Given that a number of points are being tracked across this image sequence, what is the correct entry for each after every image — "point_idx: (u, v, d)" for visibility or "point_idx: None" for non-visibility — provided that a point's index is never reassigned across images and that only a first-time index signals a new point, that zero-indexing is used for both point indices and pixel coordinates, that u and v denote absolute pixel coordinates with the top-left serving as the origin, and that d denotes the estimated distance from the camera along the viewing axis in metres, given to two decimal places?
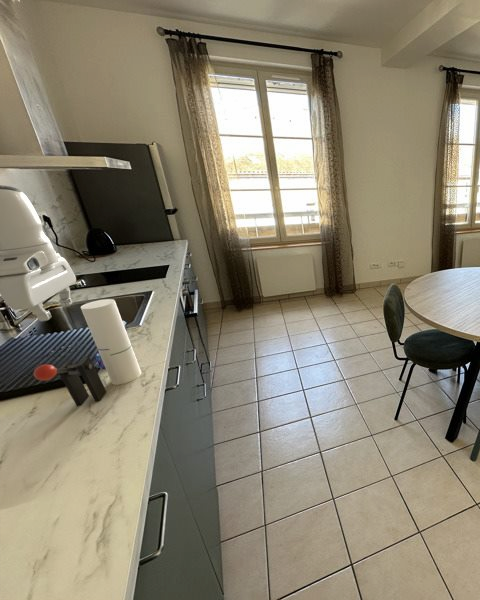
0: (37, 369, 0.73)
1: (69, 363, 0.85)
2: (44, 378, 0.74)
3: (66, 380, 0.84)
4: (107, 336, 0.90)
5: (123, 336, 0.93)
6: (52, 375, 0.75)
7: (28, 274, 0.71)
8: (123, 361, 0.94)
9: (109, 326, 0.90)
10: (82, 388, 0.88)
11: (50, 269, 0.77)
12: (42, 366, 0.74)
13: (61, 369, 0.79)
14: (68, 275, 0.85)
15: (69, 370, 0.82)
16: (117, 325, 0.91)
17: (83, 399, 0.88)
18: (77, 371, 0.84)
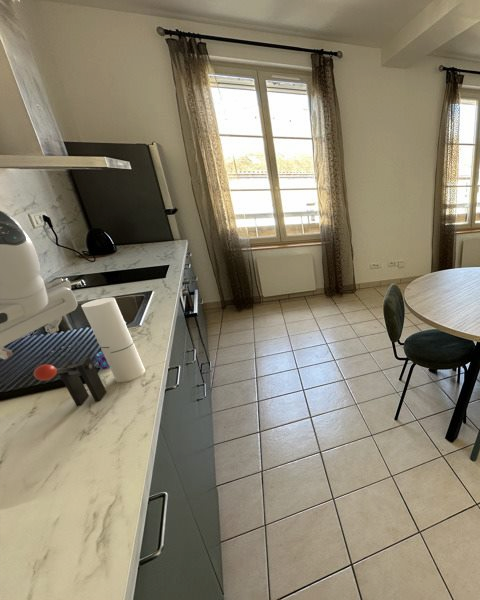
0: (37, 369, 0.73)
1: (69, 363, 0.85)
2: (44, 378, 0.74)
3: (66, 380, 0.84)
4: (106, 334, 0.91)
5: (123, 334, 0.94)
6: (52, 375, 0.75)
7: None
8: (123, 359, 0.94)
9: (108, 324, 0.90)
10: (82, 388, 0.88)
11: (28, 315, 0.69)
12: (42, 366, 0.74)
13: (61, 369, 0.79)
14: (64, 307, 0.77)
15: (69, 370, 0.82)
16: (116, 323, 0.92)
17: (83, 399, 0.88)
18: (77, 371, 0.84)
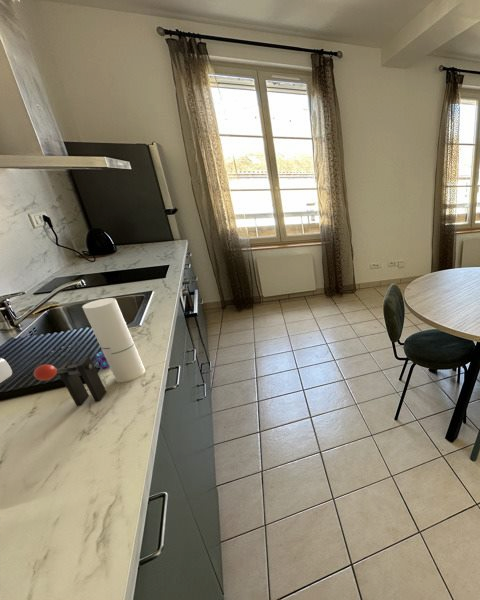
0: (37, 369, 0.73)
1: (69, 363, 0.85)
2: (44, 378, 0.74)
3: (66, 380, 0.84)
4: (107, 336, 0.90)
5: (124, 336, 0.93)
6: (52, 375, 0.75)
7: None
8: (124, 360, 0.94)
9: (109, 325, 0.90)
10: (82, 388, 0.88)
11: None
12: (42, 366, 0.74)
13: (61, 369, 0.79)
14: None
15: (69, 370, 0.82)
16: (117, 324, 0.91)
17: (83, 399, 0.88)
18: (77, 371, 0.84)
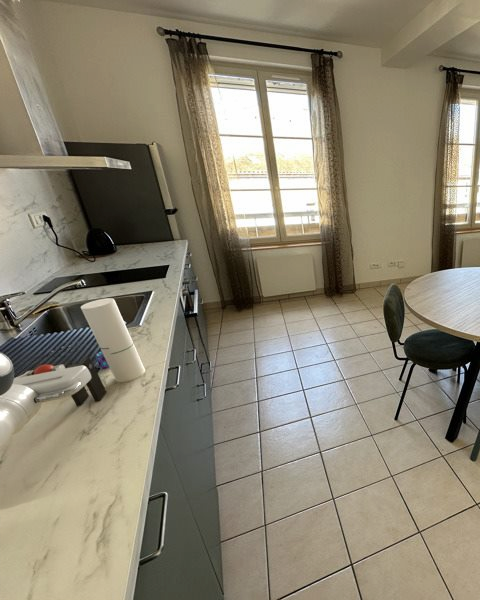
0: (37, 369, 0.73)
1: (69, 363, 0.85)
2: None
3: None
4: (106, 336, 0.90)
5: (123, 336, 0.93)
6: None
7: None
8: (123, 360, 0.94)
9: (108, 325, 0.90)
10: (82, 388, 0.88)
11: None
12: (42, 366, 0.74)
13: None
14: None
15: None
16: (116, 324, 0.91)
17: (83, 399, 0.88)
18: None
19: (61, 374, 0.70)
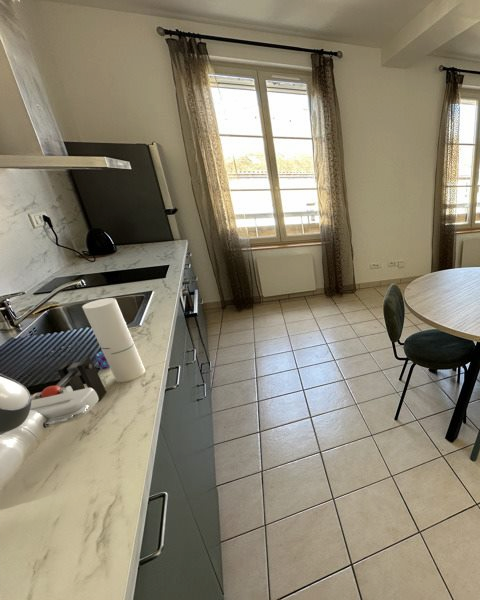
0: (44, 394, 0.74)
1: (69, 363, 0.85)
2: None
3: None
4: (107, 336, 0.90)
5: (124, 336, 0.93)
6: None
7: None
8: (124, 360, 0.94)
9: (109, 325, 0.90)
10: (82, 388, 0.88)
11: None
12: (48, 391, 0.74)
13: (65, 381, 0.80)
14: None
15: (71, 377, 0.82)
16: (117, 324, 0.91)
17: None
18: (79, 373, 0.85)
19: (69, 397, 0.71)
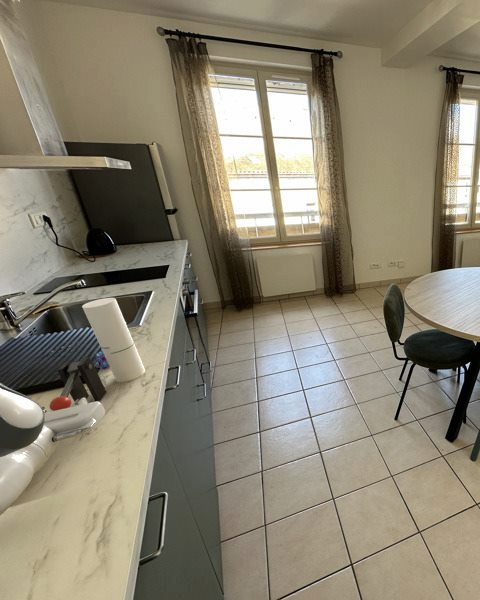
0: (53, 407, 0.76)
1: (69, 363, 0.85)
2: None
3: (66, 380, 0.84)
4: (106, 335, 0.90)
5: (124, 335, 0.94)
6: (69, 406, 0.78)
7: None
8: (123, 359, 0.94)
9: (109, 325, 0.90)
10: (82, 388, 0.88)
11: None
12: (56, 404, 0.76)
13: (69, 388, 0.81)
14: None
15: (74, 380, 0.83)
16: (117, 324, 0.92)
17: None
18: (80, 374, 0.85)
19: (77, 411, 0.73)
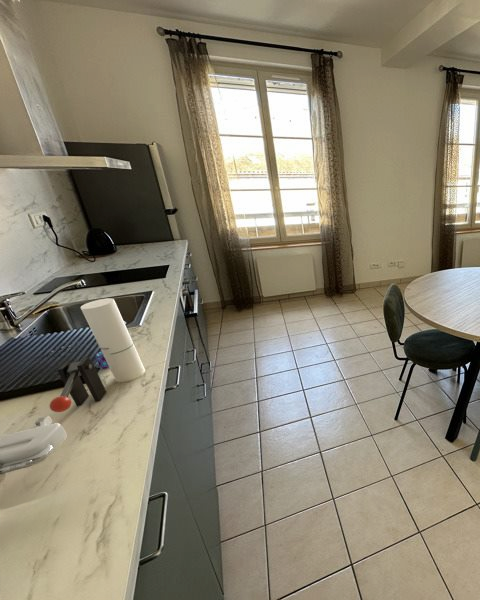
0: (53, 407, 0.76)
1: (69, 363, 0.85)
2: (64, 410, 0.78)
3: (66, 380, 0.84)
4: (106, 336, 0.90)
5: (123, 336, 0.93)
6: (69, 406, 0.78)
7: None
8: (123, 360, 0.94)
9: (107, 326, 0.90)
10: (82, 388, 0.88)
11: None
12: (56, 404, 0.76)
13: (69, 388, 0.81)
14: None
15: (74, 380, 0.83)
16: (116, 324, 0.91)
17: (83, 399, 0.88)
18: (80, 374, 0.85)
19: (31, 436, 0.61)
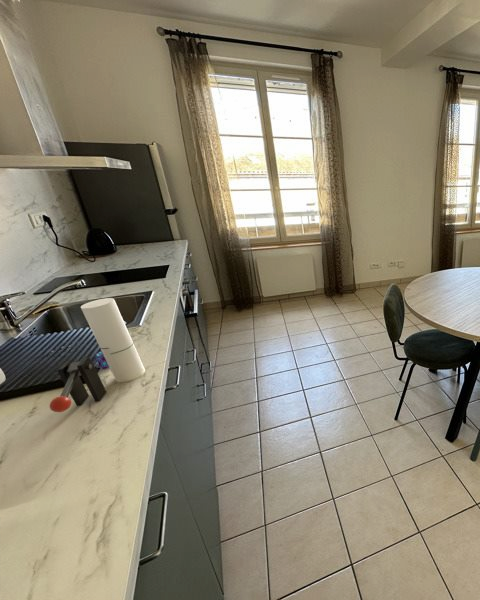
0: (53, 407, 0.76)
1: (69, 363, 0.85)
2: (64, 410, 0.78)
3: (66, 380, 0.84)
4: (105, 336, 0.90)
5: (123, 336, 0.93)
6: (69, 406, 0.78)
7: None
8: (123, 360, 0.94)
9: (107, 325, 0.90)
10: (82, 388, 0.88)
11: None
12: (56, 404, 0.76)
13: (69, 388, 0.81)
14: None
15: (74, 380, 0.83)
16: (116, 324, 0.91)
17: (83, 399, 0.88)
18: (80, 374, 0.85)
19: None
